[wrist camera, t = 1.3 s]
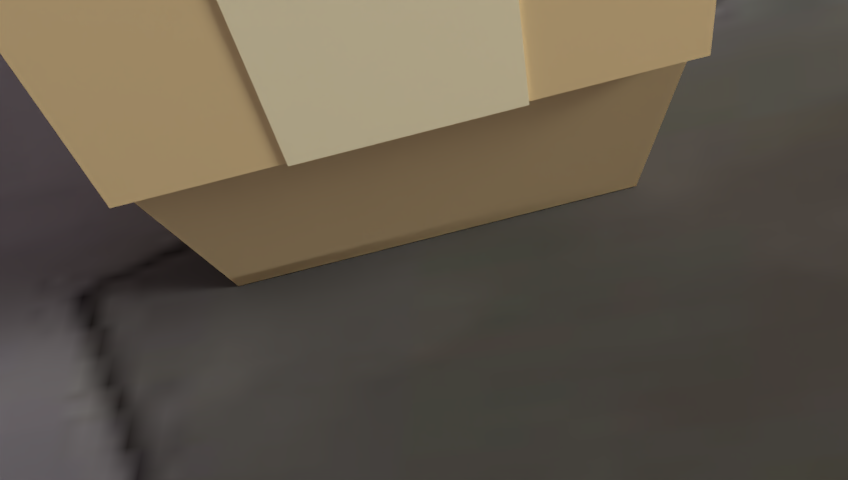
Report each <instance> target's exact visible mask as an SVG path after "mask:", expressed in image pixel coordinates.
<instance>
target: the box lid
mask: <svg viewBox="0 0 848 480" xmlns="http://www.w3.org/2000/svg"><path fill="white" fill-rule="evenodd" d="M715 9H716V0H0V54H1V55H2V56H3V58H4V59H5V61H6V62H7V64H8V65H9V66H10V68H11V69H12V71H13V72H14V73H15V75H16V76H17V78H18V79H19V81H20V82H21V83H22V85H23V86H24V88H25V89H26V90H27V92H28V93H29V95H30V96H31V98H32V99H33V100H34V102H35V103H36V105H37V106H38V108H39V109H40V110H41V112H42V113H43V115H44V116H45V117H46V119H47V120H48V122H49V123H50V125H51V126H52V127H53V129H54V130H55V132H56V133H57V134H58V136H59V137H60V139H61V140H62V142H63V143H64V144H65V146H66V147H67V149H68V150H69V151H70V153H71V154H72V156H73V157H74V159H75V160H76V161H77V163H78V164H79V166H80V167H81V168H82V170H83V171H84V173H85V174H86V176H87V177H88V178H89V180H90V181H91V183H92V184H93V186H94V187H95V188H96V190H97V191H98V193H99V194H100V195H101V197H102V198H103V200H104V201H105V203H106V204H107V205H108V207H109V208H113V207H117V206H121V205H125V204H129V203H133V202H137V201H141V200H145V199H149V198H153V197H156V196H160V195H164V194H168V193H172V192H176V191H180V190H184V189H188V188H192V187H196V186H200V185H203V184H207V183H211V182H215V181H219V180H223V179H227V178H231V177H235V176H239V175H243V174H247V173H251V172H254V171H258V170H262V169H266V168H270V167H274V166H278V165H282V164H286V163H287V165H288V166H292V165H296V164H300V163H304V162H308V161H312V160H315V159H319V158H323V157H327V156H331V155H335V154H339V153H343V152H347V151H351V150H355V149H359V148H363V147H366V146H370V145H374V144H378V143H382V142H386V141H390V140H394V139H398V138H402V137H406V136H410V135H414V134H417V133H421V132H425V131H429V130H433V129H437V128H441V127H445V126H449V125H453V124H457V123H461V122H465V121H468V120H472V119H476V118H480V117H484V116H488V115H492V114H496V113H500V112H504V111H508V110H512V109H516V108H519V107H523V106H527V105H529V101H533V100H537V99H541V98H545V97H549V96H553V95H556V94H560V93H564V92H568V91H572V90H576V89H580V88H584V87H588V86H592V85H596V84H600V83H604V82H607V81H611V80H615V79H619V78H623V77H627V76H631V75H635V74H639V73H643V72H647V71H651V70H654V69H658V68H662V67H666V66H670V65H674V64H678V63H682V62H686V61H690V60H694V59H698V58H702V57H705V56H709V55H710V53H711V45H712V36H713V27H714V18H715Z"/></svg>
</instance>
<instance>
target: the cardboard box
mask: <svg viewBox="0 0 848 480" xmlns="http://www.w3.org/2000/svg"><path fill="white" fill-rule="evenodd" d="M686 62H687V61H686ZM686 62H682V63H678V64H674V65H670V66H666V67H662V68H658V69H654V70H651V71H647V72H643V73H639V74H635V75H631V76H627V77H623V78H619V79H615V80H611V81H607V82H604V83H600V84H596V85H592V86H588V87H584V88H580V89H576V90H572V91H568V92H564V93H560V94H556V95H553V96H549V97H545V98H541V99H537V100H533V101H529V105H527V106H523V107H519V108H516V109H512V110H508V111H504V112H500V113H496V114H492V115H488V116H484V117H480V118H476V119H472V120H468V121H465V122H461V123H457V124H453V125H449V126H445V127H441V128H437V129H433V130H429V131H425V132H421V133H417V134H414V135H410V136H406V137H402V138H398V139H394V140H390V141H386V142H382V143H378V144H374V145H370V146H366V147H363V148H359V149H355V150H351V151H347V152H343V153H339V154H335V155H331V156H327V157H323V158H319V159H315V160H312V161H308V162H304V163H300V164H296V165H292V166H288V165H287V163H286V164H282V165H278V166H274V167H270V168H266V169H262V170H258V171H254V172H251V173H247V174H243V175H239V176H235V177H231V178H227V179H223V180H219V181H215V182H211V183H207V184H203V185H200V186H196V187H192V188H188V189H184V190H180V191H176V192H172V193H168V194H164V195H160V196H156V197H153V198H149V199H145V200H141V201H137V202H134V203H135V204H137V205H138V206H139V207H140V208H142V209H143V210H144V211H145V212H147V213H148V214H149V215H150V216H151V217H153V218H154V219H155V220H156V221H158V222H159V223H160V224H161V225H163V226H164V227H165V228H166V229H168V230H169V231H170V232H171V233H173V234H174V235H175V236H176V237H178V238H179V239H180V240H181V241H183V242H184V243H185V244H186V245H188V246H189V247H190V248H191V249H193V250H194V251H195V252H196V253H198V254H199V255H200V256H201V257H203V258H204V259H205V260H206V261H208V262H209V263H210V264H211V265H213V266H214V267H215V268H216V269H218V270H219V271H220V272H221V273H223V274H224V275H225V276H226V277H228V278H229V279H230V280H231V281H233V282H234V283H235V284H236V285H238V286H241V285H245V284H249V283H253V282H257V281H261V280H265V279H269V278H273V277H276V276H280V275H284V274H288V273H292V272H296V271H300V270H304V269H308V268H312V267H316V266H320V265H324V264H328V263H332V262H336V261H340V260H344V259H348V258H352V257H356V256H360V255H364V254H368V253H372V252H376V251H380V250H384V249H388V248H392V247H396V246H399V245H403V244H407V243H411V242H415V241H419V240H423V239H427V238H431V237H435V236H439V235H443V234H447V233H451V232H455V231H459V230H463V229H467V228H471V227H475V226H479V225H483V224H487V223H491V222H495V221H499V220H503V219H507V218H511V217H515V216H519V215H522V214H526V213H530V212H534V211H538V210H542V209H546V208H550V207H554V206H558V205H562V204H566V203H570V202H574V201H578V200H582V199H586V198H590V197H594V196H598V195H602V194H606V193H610V192H614V191H618V190H622V189H626V188H630V187H634V186H636V185H637V182H638V180H639V178H640V175H641V173H642V170H643V168H644V165H645V163H646V160H647V158H648V155H649V153H650V151H651V148H652V146H653V143H654V141H655V138H656V136H657V133H658V131H659V128H660V126H661V124H662V121H663V119H664V116H665V114H666V111H667V109H668V106H669V104H670V101H671V99H672V97H673V94H674V92H675V89H676V87H677V84H678V82H679V79H680V77H681V74H682V72H683V70H684V67H685V65H686Z"/></svg>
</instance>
